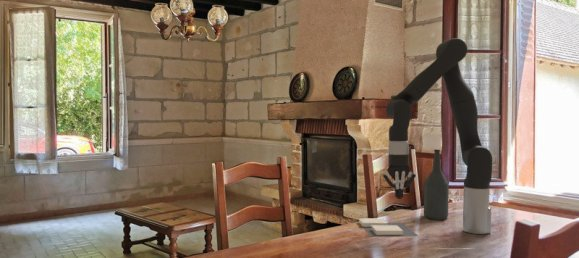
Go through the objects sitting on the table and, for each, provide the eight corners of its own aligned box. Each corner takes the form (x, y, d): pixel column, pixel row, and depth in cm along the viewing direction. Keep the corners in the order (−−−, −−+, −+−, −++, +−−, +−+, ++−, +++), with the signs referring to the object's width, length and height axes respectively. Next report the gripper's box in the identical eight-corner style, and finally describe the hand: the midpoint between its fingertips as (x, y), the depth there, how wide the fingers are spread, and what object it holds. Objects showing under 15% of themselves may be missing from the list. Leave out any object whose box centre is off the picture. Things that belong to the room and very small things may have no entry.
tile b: (397, 225, 180) (371, 225, 179) (403, 230, 172) (376, 230, 171) (397, 229, 180) (371, 229, 180) (402, 235, 172) (376, 235, 172)
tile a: (383, 218, 192) (359, 218, 191) (388, 222, 184) (363, 222, 183) (383, 222, 192) (359, 222, 191) (388, 227, 184) (363, 227, 183)
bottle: (419, 217, 204) (420, 149, 203) (431, 214, 211) (432, 148, 210) (440, 221, 197) (442, 150, 196) (452, 218, 203) (453, 149, 202)
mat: (401, 223, 193) (401, 222, 193) (418, 237, 171) (418, 236, 171) (358, 223, 192) (358, 222, 192) (370, 237, 170) (370, 236, 170)
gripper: (412, 151, 179) (413, 196, 179) (378, 152, 178) (379, 197, 179) (419, 153, 171) (419, 200, 172) (383, 154, 171) (384, 200, 171)
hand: (398, 198), depth 175 cm, fingers closed
